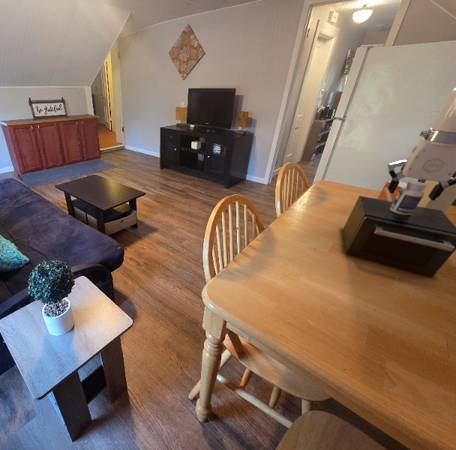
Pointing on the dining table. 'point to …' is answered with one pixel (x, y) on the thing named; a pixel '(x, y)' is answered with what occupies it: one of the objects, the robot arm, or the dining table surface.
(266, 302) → the dining table surface
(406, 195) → the pill bottle
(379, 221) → the oven door
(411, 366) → the dining table surface
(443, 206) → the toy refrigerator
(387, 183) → the small box
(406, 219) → the oven
